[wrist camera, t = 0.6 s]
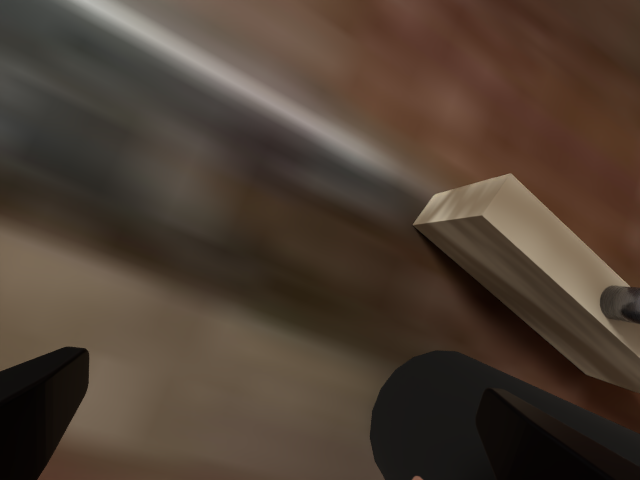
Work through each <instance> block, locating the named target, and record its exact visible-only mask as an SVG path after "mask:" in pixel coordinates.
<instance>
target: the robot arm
mask: <svg viewBox="0 0 640 480" xmlns="http://www.w3.org/2000/svg"><path fill="white" fill-rule="evenodd" d="M88 383H89V352H88V350H87V349H85V348H77V347H64V348H61V349H58V350H56V351H53V352H50V353H48V354H45V355H42V356H40V357H37V358H35V359H32V360H29V361H27V362H24V363H21V364H19V365H16V366H13V367H11V368H8V369H6V370H3V371H0V480H37V479H38V478H39V476H40V474H41V473H42V471H43V470H44V468H45V467H46V465H47V463H48V462H49V460H50V458H51V456H52V455H53V453H54V451H55V449H56V447H57V446H58V444H59V442H60V440H61V438H62V436H63V435H64V433H65V431H66V429H67V427H68V425H69V424H70V422H71V420H72V418H73V416H74V414H75V413H76V411H77V409H78V407H79V405H80V403H81V402H82V400H83V398H84V396H85V394H86V391H87V388H88ZM475 423H476V428H477V431H478V433H479V436H480V438H481V441H482V444H483V446H484V449H485V452H486V454H487V457H488V459H489V462H490V465H491V467H492V470H493V472H494V475H495V478H496V480H640V467H639V466H638V465H636V464H634V463H632V462H631V461H629V460H627V459H625V458H624V457H622V456H620V455H618V454H617V453H615V452H613V451H611V450H610V449H608V448H606V447H604V446H603V445H601V444H599V443H597V442H596V441H594V440H592V439H590V438H589V437H587V436H585V435H583V434H581V433H580V432H578V431H576V430H574V429H573V428H571V427H569V426H567V425H566V424H564V423H562V422H560V421H559V420H557V419H555V418H553V417H552V416H550V415H548V414H546V413H545V412H543V411H541V410H539V409H538V408H536V407H534V406H532V405H531V404H529V403H527V402H525V401H524V400H522V399H520V398H518V397H517V396H515V395H513V394H511V393H510V392H508V391H506V390H504V389H498V388H487V389H485V390H484V392H483V394H482V398H481V401H480V404H479V407H478V410H477V413H476V418H475Z"/></svg>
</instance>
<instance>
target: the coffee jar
mask: <svg viewBox="0 0 640 480" xmlns="http://www.w3.org/2000/svg"><path fill="white" fill-rule="evenodd" d="M487 388H498V389H504V390H506V391H508V392H510V393H511V394H513V395H515V396H517V397H518V398H520V399H522V400H524V401H525V402H527V403H529V404H531V405H532V406H534V407H536V408H538V409H539V410H541V411H543V412H545V413H546V414H548V415H550V416H552V417H553V418H555V419H557V420H559V421H560V422H562V423H564V424H566V425H567V426H569V427H571V428H573V429H574V430H576V431H578V432H580V433H581V434H583V435H585V436H587V437H589V438H590V439H592V440H594V441H596V442H597V443H599V444H601V445H603V446H604V447H606V448H608V449H610V450H611V451H613V452H615V453H617V454H618V455H620V456H622V457H624V458H625V459H627V460H629V461H631V462H632V463H634V464H636V465H638V466H639V467H640V434H638V433H636V432H634V431H632V430H630V429H627V428H625V427H623V426H621V425H619V424H616V423H614V422H612V421H610V420H607V419H605V418H603V417H601V416H599V415H596V414H594V413H592V412H590V411H588V410H585V409H583V408H581V407H579V406H577V405H574V404H572V403H570V402H568V401H565V400H563V399H561V398H559V397H557V396H554V395H552V394H550V393H548V392H546V391H543V390H541V389H539V388H537V387H535V386H532V385H530V384H528V383H526V382H524V381H521V380H519V379H517V378H515V377H512V376H510V375H508V374H506V373H504V372H501V371H499V370H497V369H495V368H493V367H490V366H488V365H486V364H484V363H482V362H479V361H477V360H475V359H473V358H470V357H468V356H466V355H463V354H461V353H459V352H455V351H433V352H429V353H426V354H423V355H419V356H416V357H413V358H412V359H410V360H409V361H407V362H406V363H405V364H403V365H402V366H400V367H399V368H397V369H396V370H395V371H394V372H393V374H392V375H391V376H390V378H389V379H388V380H387V381H386V383H385V384H384V385H383V387H382V388H381V390H380V392H379V395H378V397H377V400H376V403H375V405H374V408H373V410H372V420H371V430H370V440H371V445H372V450H373V455H374V459H375V462H376V464H377V466H378V468H379V469H380V471H381V473H382V474H383V476H384V478H385V480H496V478H495V475H494V472H493V470H492V467H491V465H490V462H489V459H488V457H487V454H486V452H485V449H484V446H483V444H482V441H481V438H480V436H479V433H478V431H477V428H476V423H475V418H476V413H477V410H478V407H479V404H480V401H481V398H482V394H483V392H484V390H485V389H487Z"/></svg>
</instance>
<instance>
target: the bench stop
mask: <svg viewBox="0 0 640 480" xmlns="http://www.w3.org/2000/svg"><path fill="white" fill-rule="evenodd" d="M413 226H414V227H415V228H417V229H418V230H419V231H420V232H421V233H422V234H423V235H425V236H426V237H427V238H428V239H429V240H430V241H432V242H433V243H434V244H435V245H436V246H437V247H439V248H440V249H441V250H442V251H443V252H444V253H446V254H447V255H448V256H449V257H450V258H451V259H452V260H454V261H455V262H456V263H457V264H458V265H459V266H461V267H462V268H463V269H464V270H465V271H466V272H468V273H469V274H470V275H471V276H472V277H473V278H475V279H476V280H477V281H478V282H479V283H480V284H481V285H483V286H484V287H485V288H486V289H487V290H488V291H490V292H491V293H492V294H493V295H494V296H495V297H497V298H498V299H499V300H500V301H501V302H502V303H504V304H505V305H506V306H507V307H508V308H509V309H510V310H512V311H513V312H514V313H515V314H516V315H517V316H519V317H520V318H521V319H522V320H523V321H524V322H526V323H527V324H528V325H529V326H530V327H531V328H532V329H534V330H535V331H536V332H537V333H538V334H539V335H541V336H542V337H543V338H544V339H545V340H546V341H548V342H549V343H550V344H551V345H552V346H553V347H555V348H556V349H557V350H558V351H559V352H560V353H561V354H563V355H564V356H565V357H566V358H567V359H568V360H570V361H571V362H572V363H573V364H574V365H575V366H577V367H578V368H579V369H580V370H581V371H582V372H584V373H585V374H586V375H589V376H591V377H594V378H597V379H600V380H603V381H606V382H608V383H611V384H614V385H617V386H620V387H623V388H625V389H628V390H631V391H634V392H637V393H640V288H636V287H630V286H629V285H628V284H627V283H626V282H625V281H624V280H622V279H621V278H620V277H619V276H618V275H617V274H616V273H615V272H614V271H613V270H612V269H611V268H610V267H609V266H608V265H607V264H606V263H605V262H604V261H602V260H601V259H600V258H599V257H598V256H597V255H596V254H595V253H594V252H593V251H592V250H591V249H590V248H589V247H588V246H587V245H586V244H585V243H583V242H582V241H581V240H580V239H579V238H578V237H577V236H576V235H575V234H574V233H573V232H572V231H571V230H570V229H569V228H568V227H567V226H566V225H565V224H563V223H562V222H561V221H560V220H559V219H558V218H557V217H556V216H555V215H554V214H553V213H552V212H551V211H550V210H549V209H548V208H547V207H546V206H545V205H543V204H542V203H541V202H540V201H539V200H538V199H537V198H536V197H535V196H534V195H533V194H532V193H531V192H530V191H529V190H528V189H527V188H526V187H524V186H523V185H522V184H521V183H520V182H519V181H518V180H517V179H516V178H515V177H514V176H513V175H512V174H511V173H510V174H507V175H503V176H499V177H496V178H492V179H489V180H485V181H481V182H478V183H474V184H471V185H467V186H463V187H460V188H456V189H453V190H449V191H445V192H442V193H438V194H435V195H434V196H433V197H432V199H431V200H430V201H429V203H428V204H427V206H426V207H425V208H424V210H423V211H422V213H421V214H420V215H419V217H418V218H417V220H416V221H415V222H414V224H413Z"/></svg>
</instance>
